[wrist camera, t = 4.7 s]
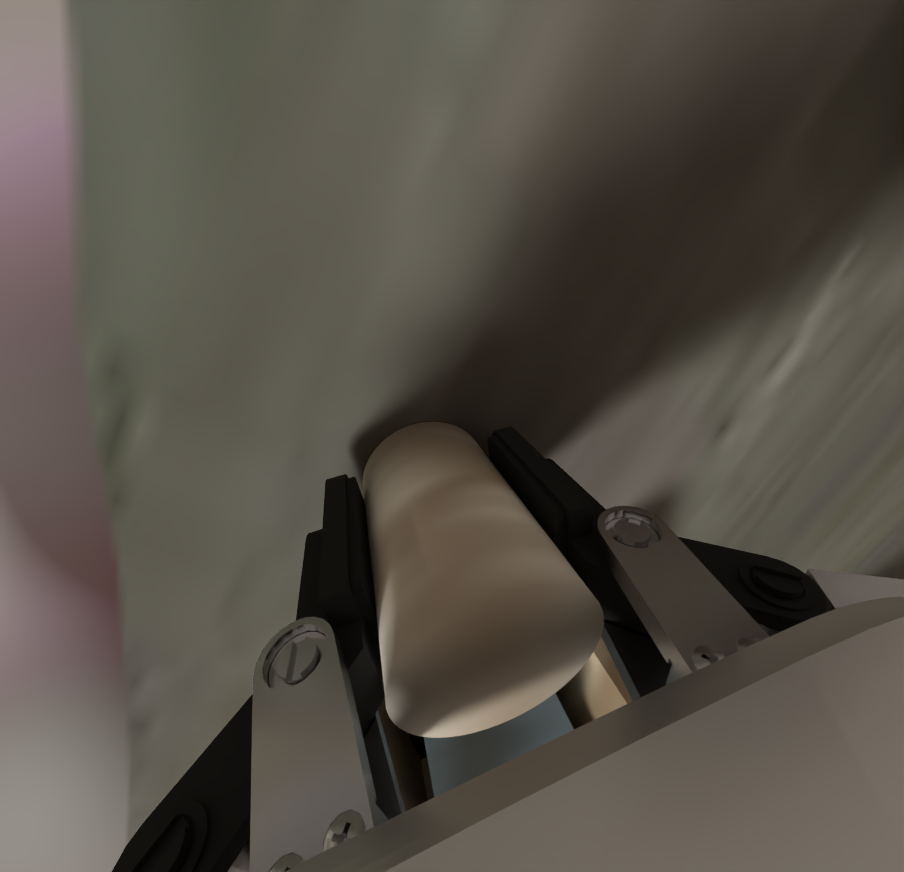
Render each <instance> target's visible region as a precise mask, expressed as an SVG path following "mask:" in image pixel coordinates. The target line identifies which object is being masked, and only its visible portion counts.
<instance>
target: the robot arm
mask: <svg viewBox="0 0 904 872" xmlns="http://www.w3.org/2000/svg"><path fill="white" fill-rule="evenodd" d="M488 447H489V455H490V461H491V462H492V463H493V464H494V466H495V467H496V468H497V470H498V471H499V472H500V474H501V475H502V476H503V478H504V479H505V480H506V481H507V483H508V484H509V485H510V487H511V488H512V489H513V491H514V492H515V493H516V495H517V496H518V497H519V498H520V500H521V501H522V502H523V504H524V505H525V506H526V508H527V509H528V510H529V512H530V513H531V514H532V515H533V517H534V518H535V519H536V521H537V522H538V523H539V525H540V526H541V527H542V529H543V530H544V531H545V532H546V534H547V535H548V536H549V538H550V539H551V540H552V542H553V543H554V544H555V546H556V547H557V548H558V549H559V551H560V552H561V553H562V555H563V556H564V557H565V559H566V560H567V561H568V563H569V564H570V565H571V566H572V568H573V569H574V570H575V572H576V573H577V574H578V576H579V577H580V578H581V580H582V581H583V582H584V583H585V585H586V586H587V587H588V589H589V590H590V591H591V593H592V594H593V595H594V597H595V598H596V599H597V600H598V602H599V603H600V606H601V608H602V610H603V615H604V626H603V631H602V635H601V637H602V639H603V641H604V643H605V645H606V647H607V649H608V651H609V654H610V656H611V658H612V660H613V662H614V664H615V666H616V668H617V670H618V672H619V674H620V676H621V678H622V680H623V682H624V684H625V686H626V688H627V691H628V693H629V695H630V697H631V699H632V702H630V703H628V704H626V705H624V706H622V707H620V708H618V709H616V710H614V711H612V712H610V713H607V714H605V715H603V716H601V717H599V718H597V719H595V720H593V721H591V722H589V723H587V724H585V725H583V726H581V727H578V728H576V729H574V730H572V731H570V732H568V733H566V734H564V735H562V736H560V737H558V738H556V739H554V740H552V741H549V742H547V743H545V744H543V745H541V746H539V747H537V748H535V749H533V750H531V751H529V752H527V753H525V754H523V755H521V756H518V757H516V758H514V759H512V760H510V761H508V762H506V763H504V764H502V765H500V766H498V767H496V768H494V769H492V770H489V771H487V772H485V773H483V774H481V775H479V776H477V777H475V778H473V779H471V780H469V781H467V782H465V783H463V784H461V785H459V786H457V787H455V788H453V789H451V790H449V791H446V792H444V793H442V794H440V795H438V796H436V797H434V798H432V799H430V800H428V801H426V802H424V803H422V804H420V805H418V806H416V807H414V808H412V809H410V810H408V811H405V808H404V804H403V800H402V797H401V793H400V789H399V786H398V782H397V778H396V775H395V771H394V767H393V764H392V760H391V756H390V753H389V749H388V745H387V742H386V738H385V734H384V731H383V727H382V723H381V720H380V716H379V712H378V708H379V707H380V705H381V703H382V701H383V700H384V698H385V693H384V683H383V674H382V664H381V655H380V645H379V636H378V626H377V616H376V607H375V597H374V588H373V578H372V569H371V559H370V550H369V540H368V530H367V521H366V511H365V502H364V499H363V497H362V494H361V491H360V488H359V486H358V483H357V480H356V478H355V477H352V478H348V476H347V475H346V474H344V475H341V476H337V477H334V478H330V479H327V480H326V483H325V499H324V514H323V529H321V530H318V531H314V532H311V533H309V534H308V535H307V537H306V543H305V551H304V560H303V568H302V576H301V584H300V592H299V600H298V609H297V617H296V621H294V622H291V623H290V624H288V625H287V626H285V627H284V628H282V629H281V630H280V631H279V632H277V633H276V634H275V635H274V636H273V637H272V638H271V639H270V640H269V642H268V643H267V644H266V646H265V647H264V648H263V650H262V651H261V653H260V655H259V657H258V660H257V662H256V664H255V669H254V674H253V694H252V695H251V697H250V698H249V699H248V700H247V701H246V703H245V704H244V705H243V706H242V707H241V708H240V710H239V711H238V712H237V713H236V714H235V716H234V717H233V718H232V719H231V720H230V721H229V723H228V724H227V725H226V726H225V727H224V728H223V730H222V731H221V732H220V733H219V734H218V736H217V737H216V738H215V739H214V740H213V741H212V743H211V744H210V745H209V746H208V747H207V749H206V750H205V751H204V752H203V753H202V754H201V756H200V757H199V758H198V759H197V760H196V761H195V763H194V764H193V765H192V766H191V767H190V769H189V770H188V771H187V772H186V773H185V774H184V776H183V777H182V778H181V779H180V780H179V782H178V783H177V784H176V785H175V786H174V787H173V789H172V790H171V791H170V792H169V793H168V794H167V796H166V797H165V798H164V799H163V800H162V802H161V803H160V804H159V805H158V806H157V807H156V809H155V810H154V811H153V812H152V813H151V815H150V816H149V817H148V818H147V819H146V820H145V822H144V823H143V824H142V825H141V827H140V828H139V829H138V831H137V832H136V833H135V835H134V836H133V837H132V839H131V840H130V842H129V843H128V844H127V846H126V847H125V849H124V851H123V853H122V854H121V856H120V858H119V860H118V862H117V863H116V865H115V867H114V869H113V871H112V872H904V579H895V578H886V577H877V576H868V575H859V574H850V573H841V572H832V571H823V570H814V569H808V570H807V572H806V574H805V573H803V572H802V571H800V570H799V569H797V568H796V567H793V566H791V565H789V564H787V563H785V562H783V561H780V560H777V559H774V558H770V557H767V556H763V555H758V554H753V553H749V552H744V551H740V550H735V549H731V548H726V547H722V546H717V545H713V544H708V543H703V542H699V541H694V540H690V539H685V538H681V537H677V536H676V535H675V533H674V532H673V531H672V530H671V529H670V528H669V527H668V526H667V525H666V524H665V523H664V522H663V521H662V520H661V519H660V518H659V517H657V516H656V515H654V514H652V513H651V512H649V511H647V510H644V509H641V508H637V507H632V506H615V507H612V508H609V509H607V510H606V509H605V508H604V507H603V506H602V505H600V504H599V503H598V502H597V501H596V500H595V499H594V498H593V497H592V496H591V495H590V494H589V493H587V492H586V491H585V490H584V489H583V488H582V487H581V486H580V485H579V484H578V483H577V482H576V481H575V480H573V479H572V478H571V477H570V476H569V475H568V474H567V473H566V472H565V471H564V470H563V469H562V468H560V467H559V466H558V465H557V464H556V463H555V462H554V461H553V460H551V459H549V458H546V459H545V458H544V457H543V456H542V455H541V454H540V453H539V452H538V451H537V450H536V449H535V448H534V447H533V446H532V445H530V444H529V443H528V442H527V441H526V440H525V439H524V438H523V437H522V436H521V435H520V434H519V433H518V432H517V431H516V430H515V429H514V428H512V427H506V428H503V429H499V430H496V431H493V434H492V437H489V438H488Z"/></svg>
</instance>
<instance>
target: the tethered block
mask: <svg viewBox="0 0 904 872" xmlns="http://www.w3.org/2000/svg"><path fill="white" fill-rule="evenodd" d="M363 492H364V502H365V511H366V521H367V530H368V540H369V550H370V559H371V569H372V578H373V588H374V597H375V607H376V616H377V626H378V636H379V645H380V655H381V664H382V674H383V683H384V693H385V702H386V710H387V713H388V715H389V718H390V719H391V720H392V722H393V723H394V724H395V725H396V726H398V727H399V728H400V729H402V730H404V731H406V732H408V733H410V734H413V735H417V736H422V737H424V742H425V747H426V753H427V759H428V764H429V770H430V776H431V781H432V787H433V793H434V797H436V796H438V795H440V794H442V793H444V792H446V791H449V790H451V789H453V788H455V787H457V786H459V785H461V784H463V783H465V782H467V781H469V780H471V779H473V778H475V777H477V776H479V775H481V774H483V773H485V772H487V771H489V770H492V769H494V768H496V767H498V766H500V765H502V764H504V763H506V762H508V761H510V760H512V759H514V758H516V757H518V756H521V755H523V754H525V753H527V752H529V751H531V750H533V749H535V748H537V747H539V746H541V745H543V744H545V743H547V742H549V741H552V740H554V739H556V738H558V737H560V736H562V735H564V734H566V733H568V732H570V731H572V730H574V729H573V727H572V725H571V723H570V721H569V719H568V717H567V715H566V713H565V711H564V709H563V707H562V705H561V703H560V701H559V699H558V697H557V695H556V692H557V691H558V690H559V689H561V688H562V687H563V686H564V685H565V684H566V683H568V682H569V681H570V680H571V679H572V678H573V677H574V676H575V675H576V674H577V673H578V672H579V671H580V669H581V668H582V667H583V666H584V665H585V663H586V662H587V661H588V660H589V658H590V657H591V655H592V654H593V652H594V650H595V649H596V647H597V645H598V643H599V640H600V638H601V635H602V631H603V626H604V615H603V610H602V608H601V606H600V603H599V602H598V600H597V599H596V598H595V597H594V595H593V594H592V593H591V591H590V590H589V589H588V587H587V586H586V585H585V583H584V582H583V581H582V580H581V578H580V577H579V576H578V574H577V573H576V572H575V570H574V569H573V568H572V566H571V565H570V564H569V563H568V561H567V560H566V559H565V557H564V556H563V555H562V553H561V552H560V551H559V549H558V548H557V547H556V546H555V544H554V543H553V542H552V540H551V539H550V538H549V536H548V535H547V534H546V532H545V531H544V530H543V529H542V527H541V526H540V525H539V523H538V522H537V521H536V519H535V518H534V517H533V515H532V514H531V513H530V512H529V510H528V509H527V508H526V506H525V505H524V504H523V502H522V501H521V500H520V498H519V497H518V496H517V495H516V493H515V492H514V491H513V489H512V488H511V487H510V485H509V484H508V483H507V481H506V480H505V479H504V478H503V476H502V475H501V474H500V472H499V471H498V470H497V468H496V467H495V466H494V464H493V463H492V462H491V461H490V459H489V458H488V457H487V455H486V454H485V453H484V451H483V450H482V449H481V447H480V446H479V445H478V444H477V442H476V441H475V440H474V439H473V437H472V436H471V435H469V434H468V433H467V432H466V431H464V430H463V429H461V428H459V427H457V426H455V425H451V424H448V423H443V422H421V423H416V424H412V425H409V426H406V427H404V428H402V429H400V430H397V431H396V432H394V433H393V434H391V435H389V436H388V437H387V438H386V439H384V440H383V441H382V442H381V443H380V444H379V445H378V446H377V447H376V448H375V450H374V451H373V452H372V454H371V456H370V457H369V459H368V461H367V463H366V466H365V469H364V473H363Z"/></svg>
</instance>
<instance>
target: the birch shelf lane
mask: <svg viewBox="0 0 904 872" xmlns="http://www.w3.org/2000/svg"><path fill="white" fill-rule="evenodd" d="M556 695H557V697H558V699H559V701H560V703H561V705H562V707H563V709H564V711H565V713H566V715H567V717H568V719H569V721H570V723H571V725H572V727H573V729H576V728H578V727H581V726H583V725H585V724H587V723H589V722H591V721H593V720H595V719H597V718H599V717H601V716H603V715H605V714H607V713H610V712H612V711H614V710H616V709H618V708H620V707H622V706H624V705H626V704H628V703H630V702H632V699H631V697H630V695H629V693H628V691H627V688H626V686H625V684H624V682H623V680H622V678H621V676H620V674H619V672H618V670H617V668H616V666H615V664H614V662H613V660H612V658H611V656H610V654H609V651H608V649H607V647H606V645H605V643H604V641H603V639H602V637H601V638H600V640H599V643H598V645H597V647H596V649H595V650H594V652H593V654H592V655H591V657H590V658H589V660H588V661H587V662H586V663H585V665H584V666H583V667H582V668H581V669H580V671H579V672H578V673H577V674H576V675H575V676H574V677H573V678H572V679H571V680H570V681H569V682H568V683H566V684H565V685H564V686H563V687H562V688H561V689H559V690H558V691H557V692H556ZM378 712H379V716H380V720H381V723H382V727H383V731H384V734H385V738H386V742H387V745H388V749H389V753H390V756H391V760H392V764H393V767H394V771H395V775H396V778H397V782H398V786H399V789H400V793H401V797H402V800H403V804H404V808H405V811H408V810H410V809H412V808H414V807H416V806H418V805H420V804H422V803H424V802H426V801H428V800H430V799H432V798H434V793H433V787H432V781H431V776H430V770H429V764H428V759H427V757H425V758H423V759H420V757H419V755H418V753H417V751H416V749H415V747H414V745H413V743H412V741H411V739H410V737H409V735H408V733H407V732H406V731H404V730H402V729H400V728H399V727H398V726H396V725H395V724H394V723H393V722H392V720H391V719H390V718H389V715H388V713H387V710H386V702H385V698H384V700H383V701H382V703H381V705H380V707H379V708H378Z"/></svg>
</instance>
